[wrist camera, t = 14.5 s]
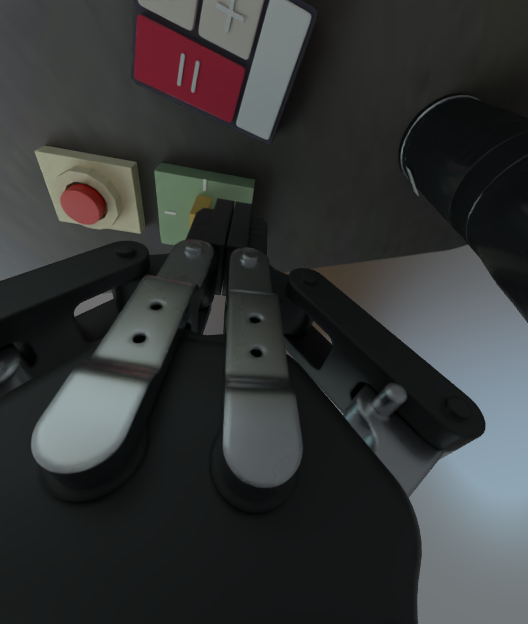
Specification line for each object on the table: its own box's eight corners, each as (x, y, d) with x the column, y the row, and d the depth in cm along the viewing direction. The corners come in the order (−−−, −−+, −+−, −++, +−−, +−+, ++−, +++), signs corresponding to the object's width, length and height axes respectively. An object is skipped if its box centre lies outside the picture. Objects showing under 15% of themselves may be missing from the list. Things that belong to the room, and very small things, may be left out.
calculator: (134, -101, 20) (321, 9, 24) (154, -83, 24) (317, 13, 27) (126, 82, 28) (270, 148, 31) (143, 77, 31) (272, 138, 34)
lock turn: (197, 194, 36) (189, 214, 32) (211, 197, 36) (205, 217, 32) (196, 236, 40) (189, 258, 36) (209, 238, 40) (203, 260, 37)
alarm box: (137, 161, 36) (125, 173, 33) (145, 226, 43) (136, 240, 40) (44, 145, 35) (24, 155, 32) (67, 213, 41) (52, 227, 39)
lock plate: (255, 178, 37) (254, 188, 35) (245, 245, 44) (244, 257, 42) (161, 161, 36) (153, 170, 34) (166, 233, 43) (160, 244, 41)
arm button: (102, 186, 35) (94, 193, 33) (109, 219, 38) (103, 227, 37) (63, 180, 34) (54, 186, 33) (74, 214, 38) (66, 221, 36)
